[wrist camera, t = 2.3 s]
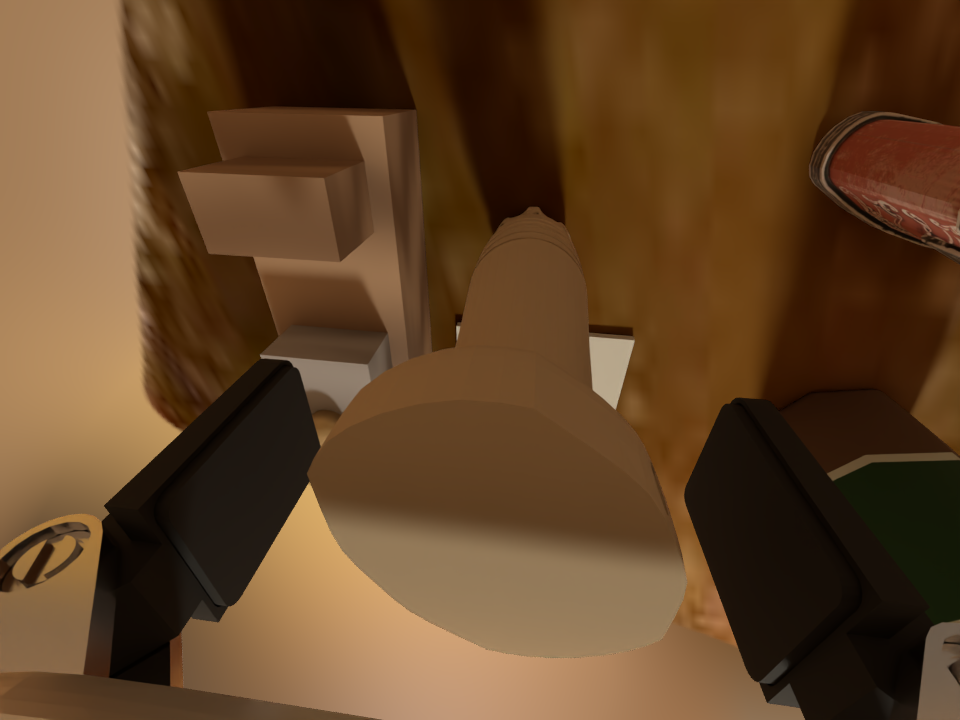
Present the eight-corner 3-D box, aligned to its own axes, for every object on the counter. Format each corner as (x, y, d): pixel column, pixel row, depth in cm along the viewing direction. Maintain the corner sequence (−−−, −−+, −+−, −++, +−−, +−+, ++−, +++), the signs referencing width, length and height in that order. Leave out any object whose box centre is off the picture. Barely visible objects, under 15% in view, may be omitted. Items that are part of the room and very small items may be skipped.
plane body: (274, 106, 16) (116, 119, 10) (416, 109, 16) (336, 125, 10) (349, 424, 27) (292, 524, 21) (437, 434, 26) (404, 539, 20)
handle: (512, 317, 20) (464, 662, 8) (452, 198, 18) (238, 460, 5) (606, 281, 19) (719, 651, 7) (556, 143, 16) (591, 343, 4)
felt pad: (457, 322, 21) (456, 325, 21) (633, 336, 20) (634, 340, 20) (460, 442, 26) (459, 446, 26) (600, 457, 25) (601, 462, 25)
